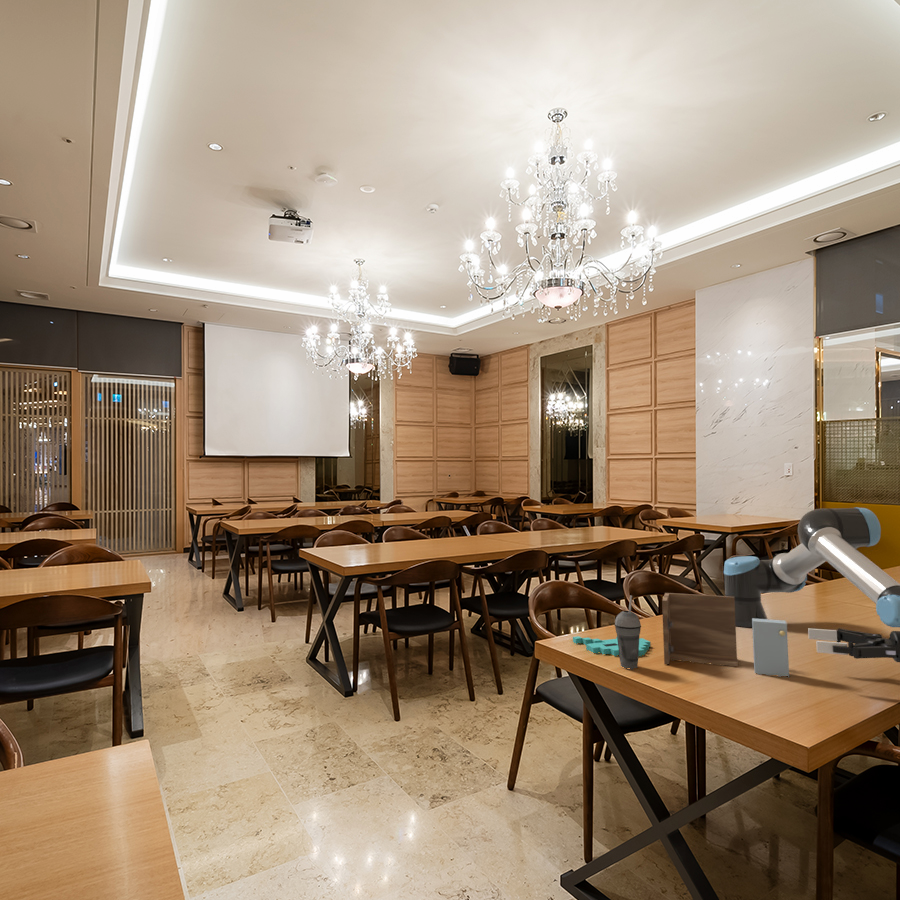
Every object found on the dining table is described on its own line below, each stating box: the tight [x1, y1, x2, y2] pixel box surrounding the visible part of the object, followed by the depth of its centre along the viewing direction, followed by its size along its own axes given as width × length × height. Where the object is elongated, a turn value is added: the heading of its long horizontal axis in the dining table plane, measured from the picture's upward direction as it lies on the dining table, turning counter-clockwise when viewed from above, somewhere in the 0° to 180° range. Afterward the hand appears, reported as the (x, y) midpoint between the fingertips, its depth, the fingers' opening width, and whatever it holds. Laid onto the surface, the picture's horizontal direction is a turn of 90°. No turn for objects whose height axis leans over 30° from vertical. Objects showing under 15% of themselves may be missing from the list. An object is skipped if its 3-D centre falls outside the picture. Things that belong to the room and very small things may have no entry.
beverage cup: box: [614, 595, 642, 670], centre depth 166 cm, size 7×7×20 cm
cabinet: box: [661, 592, 739, 667], centre depth 169 cm, size 12×19×18 cm, turn 66°
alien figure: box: [572, 636, 652, 657], centre depth 184 cm, size 20×2×20 cm
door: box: [751, 618, 790, 678], centre depth 157 cm, size 5×8×14 cm, turn 66°
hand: (812, 639), depth 154 cm, fingers open, 13 cm apart
